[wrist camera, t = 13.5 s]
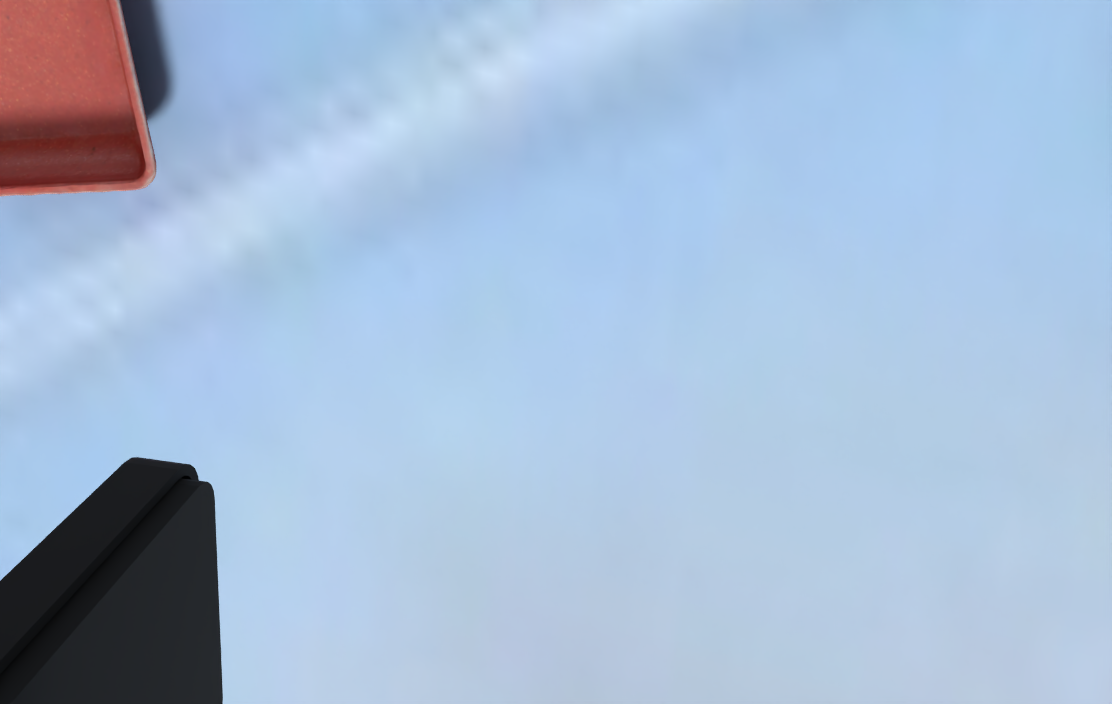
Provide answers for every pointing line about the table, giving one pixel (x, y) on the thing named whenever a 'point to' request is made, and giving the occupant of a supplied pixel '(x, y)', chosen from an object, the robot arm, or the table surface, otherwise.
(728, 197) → the table surface
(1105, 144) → the table surface
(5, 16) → the plant saucer
